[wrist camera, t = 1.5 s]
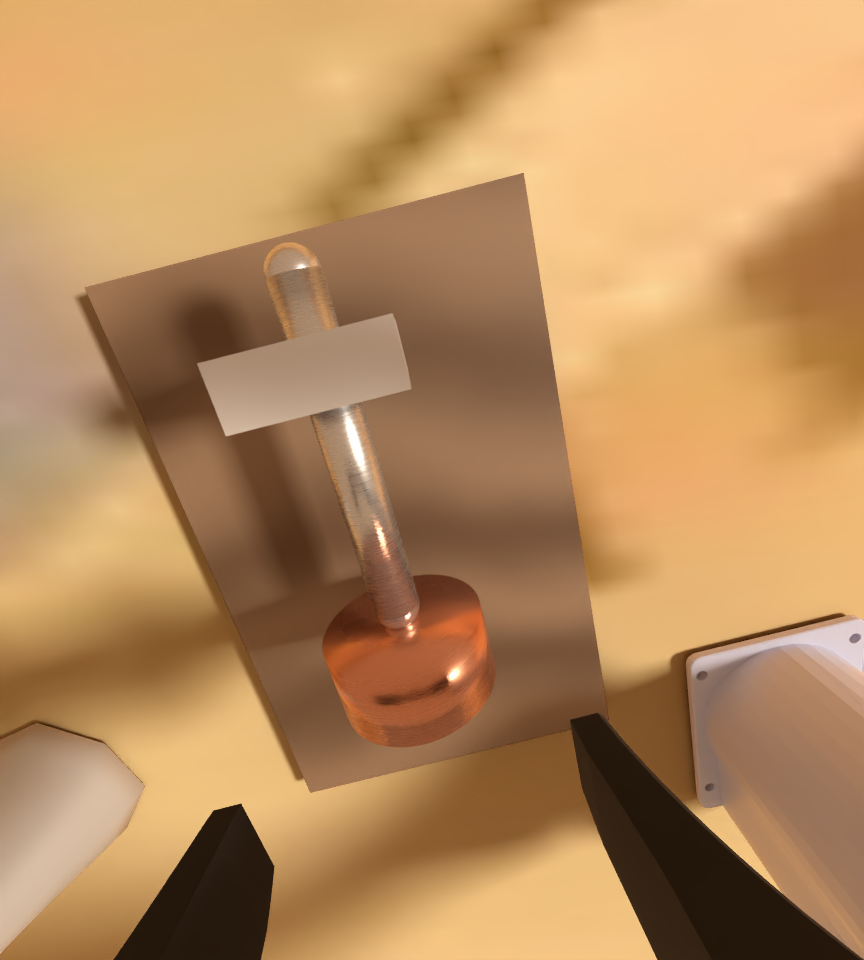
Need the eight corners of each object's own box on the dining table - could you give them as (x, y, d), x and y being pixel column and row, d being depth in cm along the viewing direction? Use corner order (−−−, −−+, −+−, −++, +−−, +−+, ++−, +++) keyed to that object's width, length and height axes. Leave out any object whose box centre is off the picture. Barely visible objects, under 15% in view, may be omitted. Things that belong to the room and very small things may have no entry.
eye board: (601, 706, 22) (685, 862, 15) (313, 776, 22) (277, 958, 15) (517, 181, 15) (604, 67, 8) (100, 290, 15) (-121, 258, 9)
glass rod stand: (481, 616, 17) (511, 722, 13) (353, 648, 17) (335, 766, 13) (388, 237, 13) (381, 184, 9) (222, 281, 13) (123, 253, 9)
